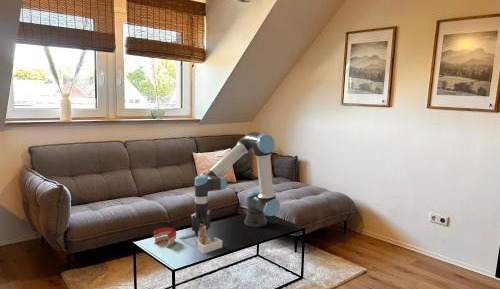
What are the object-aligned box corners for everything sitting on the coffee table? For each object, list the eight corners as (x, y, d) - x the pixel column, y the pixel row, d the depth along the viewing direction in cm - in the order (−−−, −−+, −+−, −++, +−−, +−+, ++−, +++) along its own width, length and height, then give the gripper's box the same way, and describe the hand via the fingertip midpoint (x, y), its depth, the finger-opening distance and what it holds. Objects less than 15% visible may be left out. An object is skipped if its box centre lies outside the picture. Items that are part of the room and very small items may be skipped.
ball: (213, 242, 211) (211, 247, 213) (209, 238, 214) (207, 243, 215) (207, 244, 208) (205, 249, 210) (203, 240, 211) (202, 245, 212)
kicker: (204, 241, 221) (204, 221, 219) (210, 244, 217) (210, 224, 215) (193, 244, 215) (193, 224, 214) (199, 247, 211) (199, 227, 210)
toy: (181, 242, 219) (180, 229, 217) (169, 248, 210) (168, 235, 209) (165, 237, 225) (165, 225, 224) (153, 243, 216) (152, 230, 215)
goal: (215, 243, 217) (215, 237, 217) (222, 247, 213) (222, 240, 212) (197, 249, 208) (197, 243, 208) (204, 253, 204) (204, 246, 203)
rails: (194, 234, 231) (194, 232, 231) (214, 244, 217) (214, 242, 217) (179, 239, 223) (179, 237, 223) (198, 249, 209) (198, 247, 209)
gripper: (209, 198, 222) (209, 235, 225) (185, 203, 210) (185, 242, 213) (216, 201, 216) (216, 238, 219) (192, 206, 205) (192, 246, 208)
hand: (201, 240), depth 216 cm, fingers closed on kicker, 4 cm apart
